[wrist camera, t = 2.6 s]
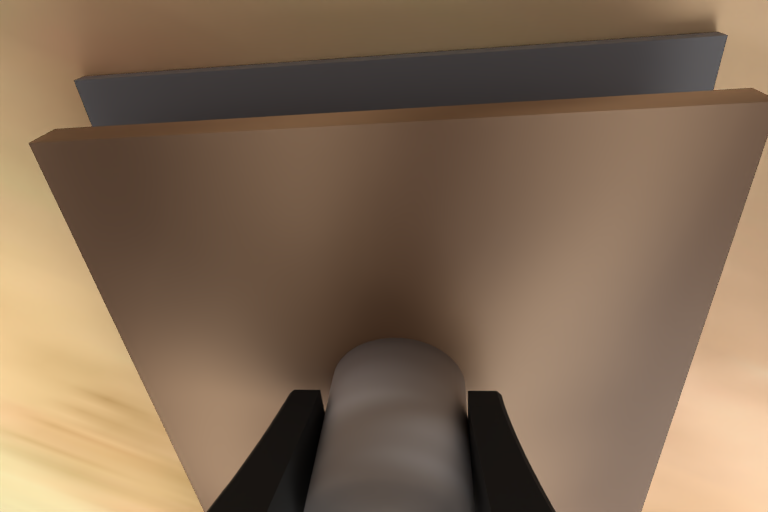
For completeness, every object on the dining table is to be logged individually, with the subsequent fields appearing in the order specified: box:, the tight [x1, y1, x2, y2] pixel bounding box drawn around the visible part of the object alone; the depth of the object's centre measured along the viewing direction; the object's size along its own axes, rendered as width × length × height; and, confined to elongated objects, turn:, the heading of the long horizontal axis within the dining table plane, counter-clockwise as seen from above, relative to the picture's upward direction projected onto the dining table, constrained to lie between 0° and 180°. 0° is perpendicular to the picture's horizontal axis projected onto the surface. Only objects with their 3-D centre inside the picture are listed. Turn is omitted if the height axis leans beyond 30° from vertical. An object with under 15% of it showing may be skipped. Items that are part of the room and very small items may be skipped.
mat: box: [74, 32, 728, 127], centre depth 15 cm, size 14×14×1 cm
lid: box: [29, 88, 768, 512], centre depth 11 cm, size 13×13×4 cm
